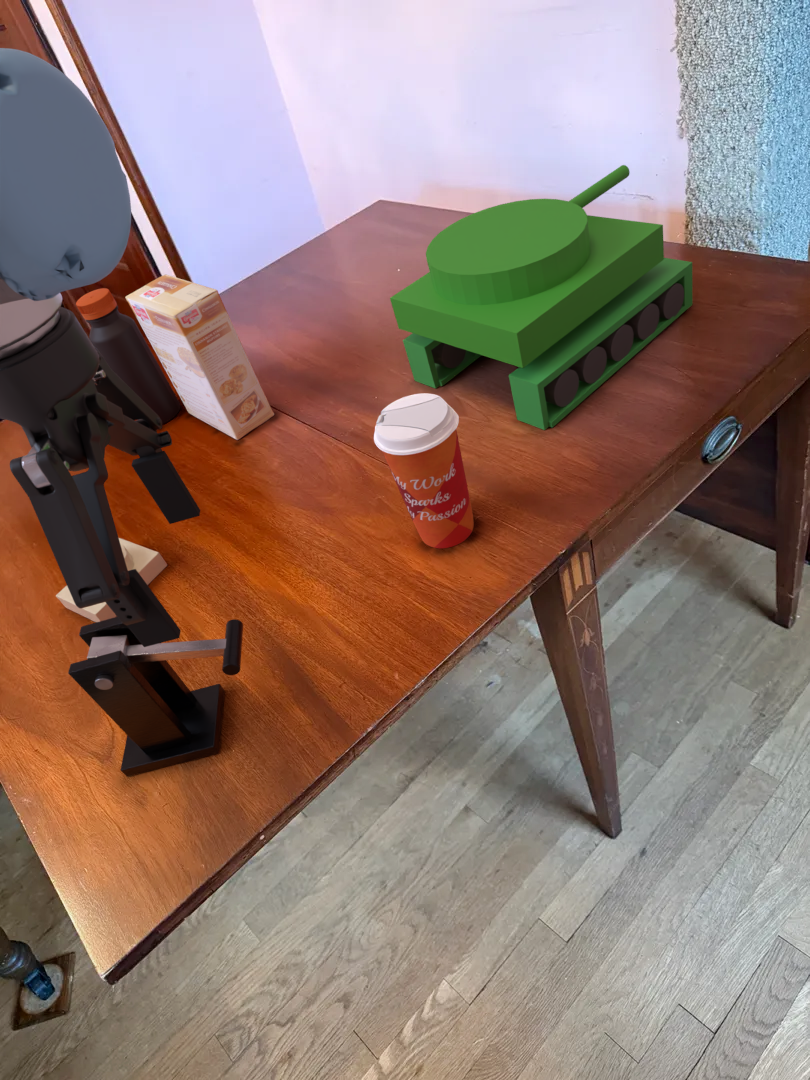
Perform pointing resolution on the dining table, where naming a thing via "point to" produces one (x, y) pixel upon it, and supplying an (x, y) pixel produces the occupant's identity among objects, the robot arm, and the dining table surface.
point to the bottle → (127, 352)
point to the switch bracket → (150, 704)
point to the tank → (542, 299)
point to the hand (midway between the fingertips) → (175, 573)
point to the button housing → (135, 558)
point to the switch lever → (177, 648)
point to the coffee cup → (427, 466)
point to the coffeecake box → (201, 353)
